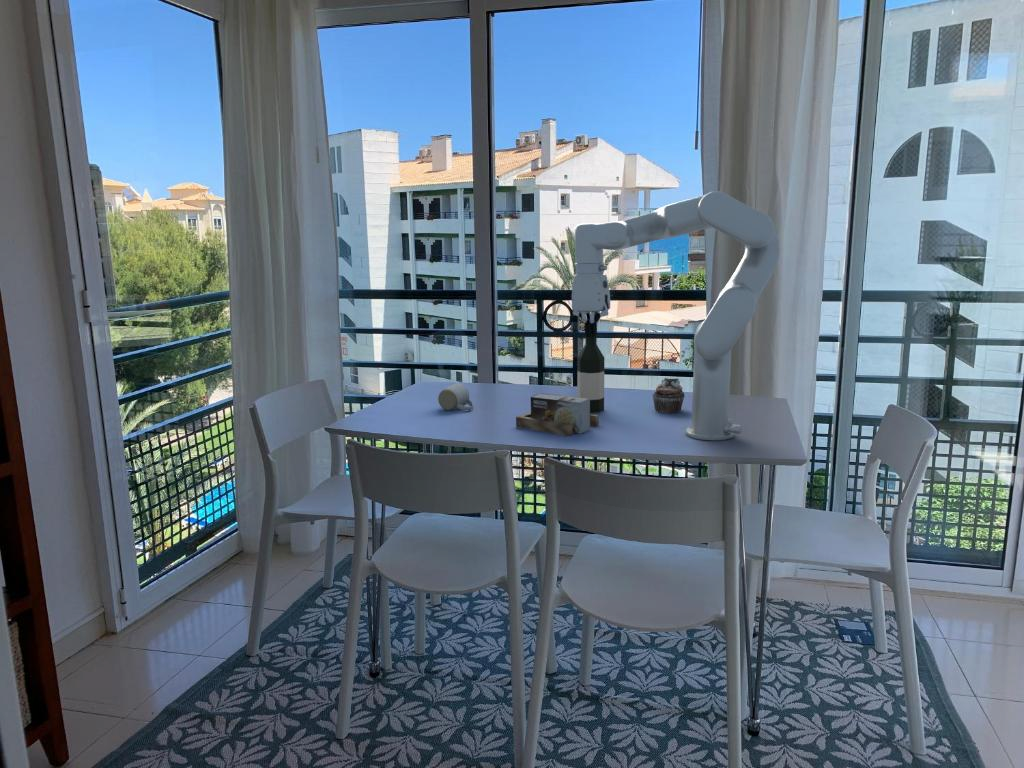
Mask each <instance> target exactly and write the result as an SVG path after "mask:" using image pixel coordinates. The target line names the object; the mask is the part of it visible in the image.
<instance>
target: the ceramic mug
mask: <svg viewBox="0 0 1024 768" xmlns="http://www.w3.org/2000/svg"><path fill="white" fill-rule="evenodd" d="M437 399H438V404H439V406H440V407H441V408H442V409H443V410H445V411H448V410H451V411H455V410H457V409H459V410H462V411H464V410H471V409H472V410H473V408H474V403H473V401H472V400H470V393H469V390H468V388H467V387H466V385H464V384H462V383H458V382H456V383H452V384H451V385H449V386H448V387H445V388H443V389H442V390H441V391H440V392H439V394H438V397H437ZM466 405H468V406H466ZM454 409H455V410H454ZM472 410H471V411H472Z"/></svg>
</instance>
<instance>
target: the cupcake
mask: <svg viewBox="0 0 1024 768" xmlns="http://www.w3.org/2000/svg"><path fill="white" fill-rule="evenodd" d="M680 382H681V381H680V379H679V378H667V377H664V378H662V379H661V383H659V384H658V385H657V387H656V388H655V391H654V393H653V394H652V399H653V406H654V409H655V410H656V411H658V412H657V413H659V412H662V413H661V414H665V413H674V414H678V413H677V412H679V413H681V412H680V411H682V408H683V404H684V403H683V402H684V400H685V393H684V391H683V387H682V385H680V384H681V383H680ZM656 411H655V412H656Z"/></svg>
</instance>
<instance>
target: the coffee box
mask: <svg viewBox="0 0 1024 768" xmlns="http://www.w3.org/2000/svg"><path fill="white" fill-rule="evenodd" d="M530 412H531V418H535V419H541V420H546V421H552V422H558V423H564V424H569V425H572V434H579V435H580V434H582V433H585V432H587V431H589V430H590V429H591V425H590V414H591V413H590V399H584V398H577V396H576V397H574V396H566V395H557V394H549V393H543V392H542V393H538V394H534V395H532V396H531V397H530Z"/></svg>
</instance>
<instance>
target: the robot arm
mask: <svg viewBox="0 0 1024 768" xmlns="http://www.w3.org/2000/svg"><path fill="white" fill-rule="evenodd" d="M711 228H713V229H715V230H716V231H718V232H720V233H722V234H723V235H725V236H728V238H731V239H733V240H734V241H735V240H736V241H737V242H739V243H741V244H743V245H744V254H743V257H742V258H741V260H740V262H739V264H738V265H737V267H736V269H735V271H734V272H733V274H732V275H731V276H730V279H729V280H728V281H727V283H726V285H725V286H724V287H723V288H722V289H721V290H720V292H719V294H718V297H717V299H716V301H715V302H714V303H713V306H711V307H712V308H711V309H710V310H709V312H708V314H707V316H706V317H705V319H704V320H703V321H702V322H700V323H699V324H698V326H697V328H696V329H695V332H694V335H693V336H694V337H693V346H694V350H693V352H694V355H693V377H692V379H693V380H692V407H691V408H692V410H691V412H692V413H691V425H690V426H688V427H687V428H686V429H685V435H687V436H689V437H690V438H692V439H697V440H703V441H724V440H729V439H732V438H733V437H734V436H735V434H736V435H741V434H742V433H743V427H742V425H740V424H734V423H733V418H729V412H730V411H729V409H730V389H731V388H730V385H731V367H732V365H731V364H732V348H734V345H735V344H736V343H737V341H738V339H739V338H740V337H741V334H743V332H744V330H745V329H746V327H747V325H748V324H749V323H750V321H751V319H752V318H753V316H754V314H755V312H756V309H757V300H758V299H759V297H760V295H761V294H762V292H763V290H764V289H765V287H766V285H767V284H768V282H769V281H770V278H771V277H772V275H773V274H774V271H775V269H776V268H777V265H778V262H779V258H780V249H781V248H780V240H779V237H778V234H777V232H776V226H775V223H774V221H773V220H772V218H771V217H769V216H768V215H767V214H765V213H763V212H761V211H759V210H758V209H756V208H754V207H752V206H749V205H748V204H745V203H743V201H742V202H741V201H740V200H738V199H737V198H735V197H733V196H731V195H730V194H727V193H725V192H723V191H721V190H720V191H718V190H715V191H710V192H708V193H706V194H703V195H699V196H696V197H692V198H689V199H685V200H682V201H678V202H674V203H669V204H666V205H664V206H662V207H659V208H657V209H656V210H654V211H652V212H649V213H646V214H641V215H639V216H635V217H631V218H628V219H624V220H619V221H618V220H617V221H610V222H604V223H595V222H594V223H590V222H589V223H579V224H577V225H576V226H575V227H574V256H575V259H574V261H575V275H573V280H572V286H571V287H572V288H571V308H572V315H573V316H576V317H579V318H580V319H581V320H582V323H584V335H586V337H589V338H592V337H596V334H598V323H599V321H600V319H601V318H602V317H607V316H609V310H610V309H611V293H610V284H609V281H608V277H607V274H604V272H605V271H607V270H608V265H605V263H604V250H608V251H620V250H624V249H628V248H631V247H635V246H638V245H643V244H646V243H650V242H655V241H659V240H660V241H661V240H668V239H673V238H677V237H680V236H684V235H688V234H691V233H695V232H700V231H705V230H707V229H711Z"/></svg>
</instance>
